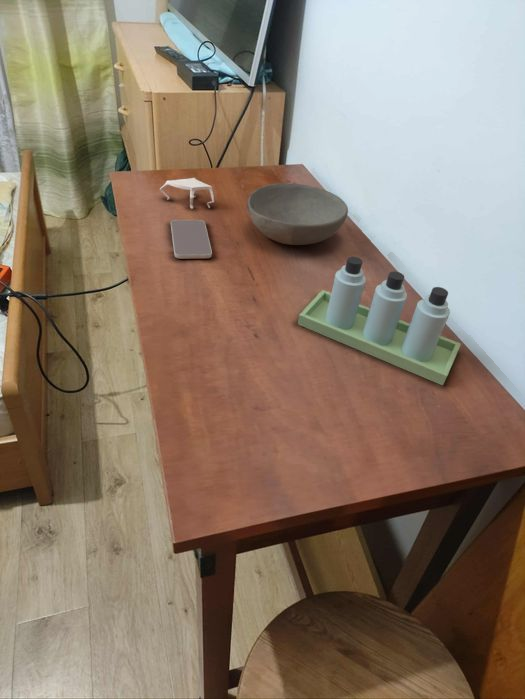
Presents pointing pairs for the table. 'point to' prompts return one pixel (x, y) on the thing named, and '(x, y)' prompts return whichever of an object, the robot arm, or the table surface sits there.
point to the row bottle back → (346, 294)
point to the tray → (390, 353)
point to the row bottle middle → (385, 309)
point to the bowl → (296, 213)
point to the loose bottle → (426, 325)
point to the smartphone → (190, 239)
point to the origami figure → (189, 188)
